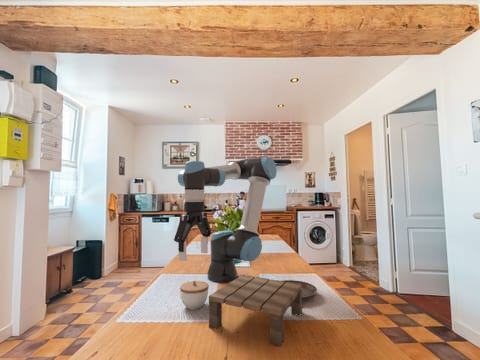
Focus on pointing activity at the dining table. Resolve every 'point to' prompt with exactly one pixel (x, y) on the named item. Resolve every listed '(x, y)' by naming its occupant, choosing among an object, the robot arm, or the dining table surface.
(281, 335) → the walnut rack
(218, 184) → the robot arm
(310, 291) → the plant saucer
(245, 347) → the dining table surface
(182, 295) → the lidded jar
